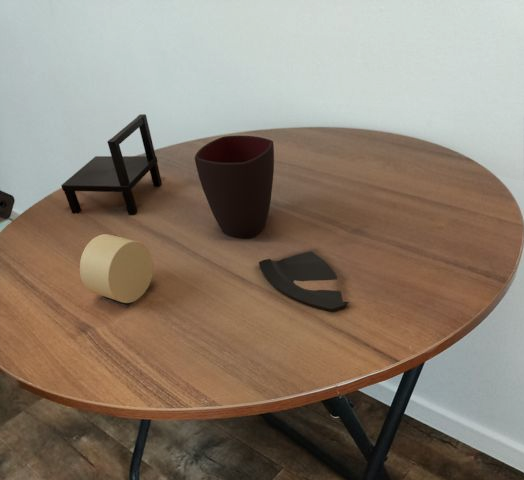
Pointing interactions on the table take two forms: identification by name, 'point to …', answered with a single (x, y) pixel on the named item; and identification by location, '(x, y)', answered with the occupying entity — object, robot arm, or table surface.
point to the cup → (238, 182)
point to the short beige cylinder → (116, 268)
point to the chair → (116, 169)
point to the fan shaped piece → (303, 270)
